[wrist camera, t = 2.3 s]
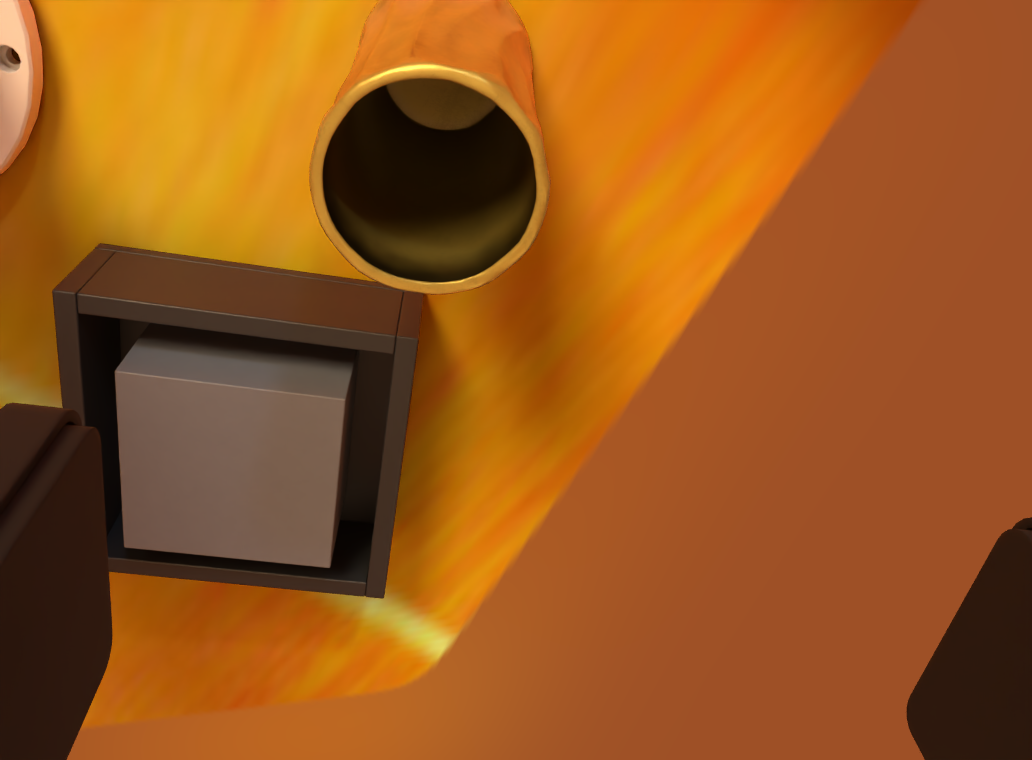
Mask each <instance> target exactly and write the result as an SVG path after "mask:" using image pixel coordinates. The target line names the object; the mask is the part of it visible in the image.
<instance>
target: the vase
mask: <svg viewBox="0 0 1032 760" xmlns="http://www.w3.org/2000/svg"><path fill="white" fill-rule="evenodd" d="M532 71H533V65H532V55H531V48H530V43H529V38H528V34H527V31H526V29H525V27H524V25H523V23H522V21H521V19H520V17H519V16H518V14H517V12H516V11H515V10H514V8H513V7H512V5H511V4H510V3H509V2H508V0H379V2H378V3H377V4H376V5H375V7H374V8H373V10H372V11H371V13H370V15H369V16H368V18H367V20H366V22H365V25H364V28H363V32H362V35H361V39H360V43H359V49H358V51H357V54H356V57H355V60H354V63H353V66H352V69H351V72H350V73H349V75H348V77H347V78H346V80H345V82H344V83H343V85H342V86H341V88H340V90H339V92H338V94H337V96H336V99H335V102H334V105H333V106H332V107H331V108H330V110H329V111H328V112H327V113H326V114H325V115H324V117H323V120H322V122H321V125H320V127H319V130H318V134H317V137H316V141H315V145H314V149H313V153H312V157H311V162H310V170H309V181H310V191H311V195H312V200H313V204H314V207H315V211H316V214H317V217H318V219H319V222H320V224H321V226H322V228H323V230H324V232H325V233H326V235H327V236H328V238H329V239H330V240H331V242H332V243H333V244H334V246H335V247H336V248H337V249H338V251H339V252H340V253H341V254H342V255H343V256H344V257H345V259H346V260H347V261H348V262H349V263H350V264H351V265H352V266H354V267H355V268H356V269H357V270H358V271H359V272H361V273H363V274H364V275H366V276H368V277H369V278H371V279H373V280H375V281H377V282H379V283H381V284H383V285H386V286H389V287H391V288H395V289H400V290H405V291H411V292H416V293H423V294H431V295H443V294H451V293H457V292H462V291H467V290H471V289H475V288H478V287H481V286H483V285H485V284H488V283H489V282H491V281H493V280H494V279H496V278H497V277H498V276H500V275H501V274H502V273H503V272H505V271H506V270H507V269H508V268H510V267H511V266H512V265H513V264H515V263H516V262H517V261H518V260H519V259H520V258H521V257H522V256H523V255H524V254H525V253H526V252H527V251H528V250H529V249H530V247H531V245H532V244H533V242H534V241H535V239H536V237H537V235H538V233H539V231H540V228H541V226H542V223H543V220H544V217H545V214H546V211H547V206H548V201H549V195H550V184H551V180H550V176H549V172H548V167H547V162H546V156H545V150H544V139H543V135H542V131H541V126H540V123H539V121H538V118H537V116H536V108H535V100H534V90H533V82H532V76H531V75H532Z"/></svg>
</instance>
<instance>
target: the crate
mask: <svg viewBox="0 0 1032 760" xmlns="http://www.w3.org/2000/svg"><path fill="white" fill-rule="evenodd" d="M52 293H53V304H54V315H55V327H56V338H57V349H58V361H59V372H60V383H61V395H62V406H63V408H64V409H73V410H75V411H76V412H78V414H79V416H80V419H81V423H82V426H86V427H95V428H96V429H98V431H99V434H100V439H101V451H102V467H103V484H104V500H105V517H106V533H107V550H108V567H109V572H118V573H128V574H138V575H149V576H159V577H169V578H179V579H190V580H200V581H210V582H220V583H231V584H241V585H251V586H262V587H272V588H282V589H292V590H303V591H313V592H323V593H333V594H344V595H354V596H366V597H373V598H384V595H385V587H386V580H387V572H388V565H389V557H390V550H391V542H392V535H393V527H394V520H395V513H396V505H397V498H398V490H399V483H400V475H401V468H402V460H403V453H404V445H405V438H406V430H407V423H408V415H409V408H410V400H411V393H412V385H413V378H414V370H415V363H416V355H417V348H418V341H419V332H420V323H421V314H422V306H423V297H424V294H423V293H416V292H411V291H405V290H400V289H395V288H391V287H389V286H386V285H383V284H381V283H379V282H371V281H364V280H357V279H350V278H343V277H336V276H329V275H322V274H314V273H307V272H300V271H293V270H286V269H279V268H272V267H265V266H257V265H250V264H243V263H236V262H229V261H222V260H215V259H208V258H200V257H193V256H186V255H179V254H172V253H165V252H158V251H150V250H143V249H136V248H129V247H122V246H115V245H108V244H101V243H100V244H98V245H97V246H96V247H95V249H94V250H93V251H92V252H91V253H90V254H89V255H88V256H87V257H86V258H85V259H84V260H83V261H82V262H81V263H80V264H79V265H78V266H77V267H76V268H75V269H74V270H73V271H72V272H71V273H69V274H68V275H67V276H66V277H65V278H64V279H63V280H62V281H61V282H60V283H59V284H58V285H57V286H56V287H55V288H54V289H53V291H52ZM149 323H156V324H163V325H171V326H179V327H186V328H194V329H201V330H209V331H217V332H224V333H232V334H240V335H247V336H255V337H263V338H270V339H278V340H286V341H293V342H301V343H309V344H316V345H324V346H332V347H339V348H347V349H354V350H359V360H358V370H357V380H356V390H355V401H354V411H353V421H352V431H351V441H350V451H349V462H348V472H347V482H346V492H345V498H344V503H343V507H342V512H341V517H340V522H339V527H338V532H337V537H336V542H335V547H334V552H333V556H332V561H331V566H330V568H324V567H314V566H305V565H295V564H285V563H275V562H265V561H255V560H245V559H235V558H225V557H215V556H205V555H195V554H185V553H175V552H166V551H156V550H146V549H136V548H126V547H124V535H123V516H122V497H121V479H120V460H119V441H118V423H117V404H116V386H115V370H116V369H117V368H118V366H119V365H120V363H121V362H122V361H123V359H124V358H125V356H126V355H127V354H128V352H129V351H130V350H131V348H132V347H133V345H134V344H135V343H136V341H137V340H138V338H139V337H140V336H141V334H142V333H143V331H144V330H145V329H146V327H147V326H148V324H149Z"/></svg>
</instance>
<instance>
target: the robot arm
mask: <svg viewBox="0 0 1032 760" xmlns="http://www.w3.org/2000/svg"><path fill="white" fill-rule="evenodd" d="M12 48H13V49H14V50H15V51H16V52H17V53H18V55H19V58H20V60H21V62H19V61H17V60H16V59H15V58H14V57H13V55H12ZM42 89H43V62H42V47H41V42H40V38H39V33H38V29H37V24H36V20H35V15H34V11H33V9H32V6H31V4H30V1H29V0H0V175H1V174H2V173H3V172H4V171H5V170H7V169H8V168H9V167H10V165H11V164H12V163H13V161H14V160H15V159H16V157H17V156H18V155H19V153H20V152H21V151H22V149H23V148H24V147H25V145H26V143H27V141H28V139H29V136H30V134H31V132H32V129H33V127H34V124H35V122H36V120H37V117H38V112H39V107H40V101H41V95H42ZM111 646H112V616H111V600H110V583H109V567H108V550H107V533H106V517H105V500H104V484H103V467H102V451H101V439H100V434H99V431H98V429H96V428H95V427H86V426H82V423H81V419H80V416H79V414H78V412H76V411H75V410H73V409H64V408H55V407H46V406H37V405H28V404H19V403H9V404H6V405H5V406H4V407H2V408H1V409H0V760H67V757H68V755H69V753H70V751H71V748H72V746H73V744H74V741H75V739H76V737H77V735H78V732H79V730H80V728H81V726H82V723H83V721H84V719H85V716H86V714H87V712H88V710H89V707H90V705H91V703H92V700H93V698H94V696H95V694H96V691H97V689H98V687H99V685H100V682H101V680H102V678H103V675H104V673H105V670H106V668H107V664H108V661H109V657H110V652H111ZM907 721H908V726H909V729H910V731H911V734H912V736H913V738H914V740H915V741H916V743H917V745H918V747H919V749H920V751H921V753H922V755H923V757H924V759H925V760H1032V518H1025V519H1023V520H1021V521H1019V522H1018V523H1016V524H1015V526H1014V527H1013V528H1012V529H1010V530H1007V531H1005V532H1004V533H1002V534H1001V536H1000V537H999V538H998V540H997V542H996V543H995V545H994V547H993V549H992V551H991V552H990V554H989V556H988V558H987V560H986V561H985V563H984V565H983V567H982V568H981V570H980V572H979V574H978V576H977V578H976V579H975V581H974V583H973V584H972V586H971V588H970V590H969V592H968V593H967V595H966V597H965V599H964V601H963V602H962V604H961V606H960V608H959V610H958V611H957V613H956V615H955V617H954V618H953V620H952V622H951V624H950V626H949V628H948V629H947V631H946V633H945V635H944V636H943V638H942V640H941V642H940V643H939V645H938V647H937V649H936V651H935V652H934V654H933V656H932V658H931V660H930V661H929V663H928V665H927V667H926V668H925V670H924V672H923V674H922V676H921V677H920V679H919V681H918V683H917V685H916V686H915V688H914V690H913V692H912V694H911V695H910V698H909V700H908V704H907Z"/></svg>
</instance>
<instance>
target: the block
mask: <svg viewBox="0 0 1032 760" xmlns="http://www.w3.org/2000/svg"><path fill="white" fill-rule="evenodd" d="M358 360H359V350H354V349H347V348H339V347H332V346H324V345H316V344H309V343H301V342H293V341H286V340H278V339H270V338H263V337H255V336H247V335H240V334H232V333H224V332H217V331H209V330H201V329H194V328H186V327H179V326H171V325H163V324H156V323H149V324H148V326H147V327H146V329H145V330H144V331H143V333H142V334H141V336H140V337H139V338H138V340H137V341H136V343H135V344H134V345H133V347H132V348H131V350H130V351H129V352H128V354H127V355H126V356H125V358H124V359H123V361H122V362H121V363H120V365H119V366H118V368H117V369H116V370H115V386H116V404H117V423H118V441H119V460H120V479H121V497H122V516H123V535H124V547H126V548H136V549H146V550H156V551H166V552H175V553H185V554H195V555H205V556H215V557H225V558H235V559H245V560H255V561H265V562H275V563H285V564H295V565H305V566H314V567H324V568H330V566H331V561H332V556H333V552H334V547H335V542H336V537H337V532H338V527H339V522H340V517H341V512H342V507H343V503H344V498H345V492H346V482H347V472H348V462H349V451H350V441H351V431H352V421H353V411H354V401H355V390H356V380H357V370H358Z"/></svg>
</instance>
